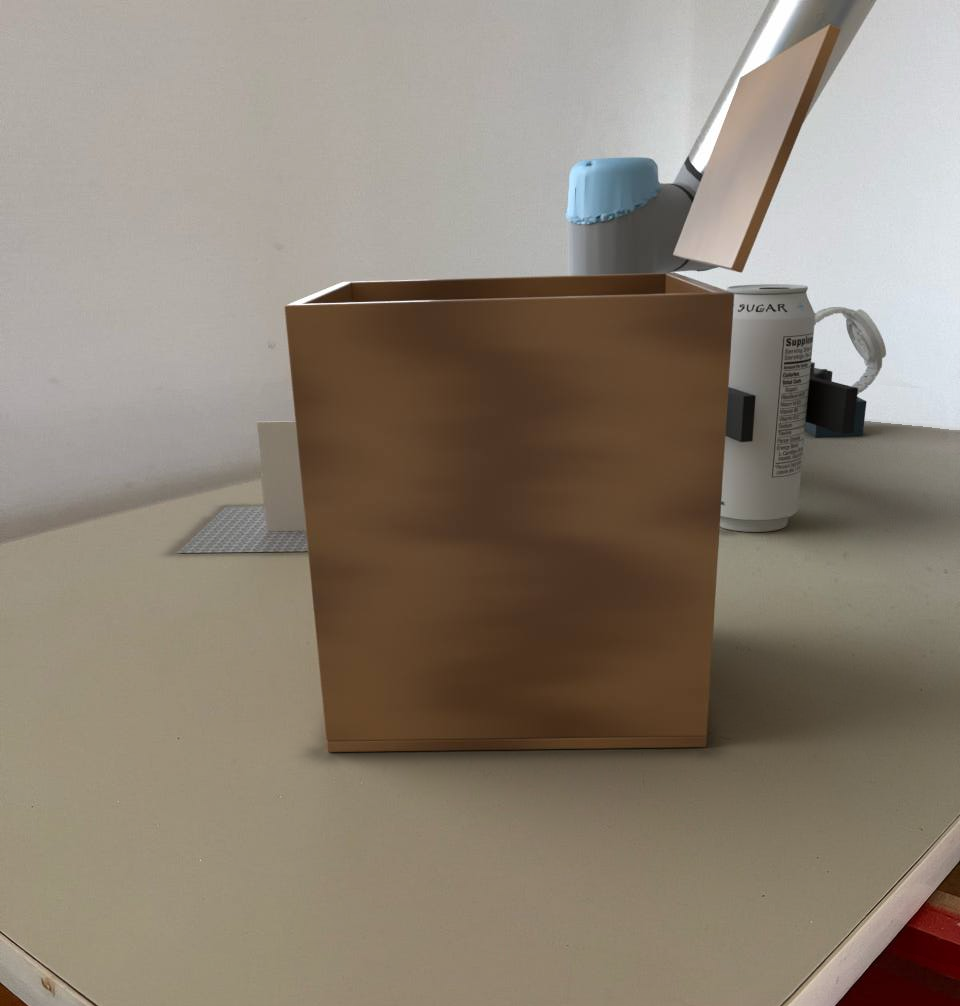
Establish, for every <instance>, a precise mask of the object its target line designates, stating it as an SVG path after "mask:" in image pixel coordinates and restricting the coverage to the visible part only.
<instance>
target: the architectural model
mask: <svg viewBox="0 0 960 1006" xmlns="http://www.w3.org/2000/svg"><path fill="white" fill-rule="evenodd" d="M256 425H257V435H258V436H257V437H258V443H259V451H260V453H259V454H260V462H261V471H260V483H261V490H262V500H263V506H262V505H261V506H260V505H259V506H256V505H255V506H226V507H225V508H224V509H222V510H221V511H220V512H219V513H218V514H217V515H216V516H215V517H214V518H213V519H212V520H211V521H210V522H209V523H208V524H206V525H205V526H204V527H203V528H202V529H201V530H200V531H199V532H198V533H197V534H196V535H195V536H194V537H192V538H191V540H189V541H188V542H187V543H186V544H185V545H184V546H183V547H182V548H181V549H180V550H179V551H178V552H177V554H194V553H195V554H197V553H200V554H202V553H205V554H207V553H274V552H277V553H278V552H279V553H280V552H308V545H307V535H306V525H305V514H304V504H303V494H302V483H301V473H300V463H299V452H298V442H297V432H296V421H295V420H278V421H277V420H275V421H274V420H273V421H272V420H271V421H270V420H269V421H257V422H256Z"/></svg>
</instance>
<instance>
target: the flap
mask: <svg viewBox="0 0 960 1006" xmlns="http://www.w3.org/2000/svg"><path fill="white" fill-rule="evenodd" d="M840 31H841V28H839V27H836V26H834V25H831V24H830V25H828V26H826V27H824V28H823V29H821V30H819V31H818V32H816V33H814V34H813V35H811V36H809V37H808V38H806V39H804V40H802V41H801V42H799V43H797V44H796V45H794V46H792V47H791V48H789V49H787V50H786V51H784V52H782V53H780V54H779V55H777V56H775V57H774V58H772V59H770V60H769V61H767V62H765V63H764V64H762V65H760V66H758V67H757V68H755V69H753V70H752V71H750V72H748V73H747V74H745V75H743V76H741V77H740V79H739V82H738V85H737V87H736V90H735V92H734V95H733V98H732V100H731V103H730V106H729V108H728V111H727V114H726V116H725V119H724V121H723V124H722V127H721V129H720V132H719V135H718V137H717V140H716V143H715V145H714V148H713V150H712V153H711V156H710V158H709V161H708V164H707V166H706V169H705V171H704V174H703V177H702V179H701V182H700V185H699V187H698V190H697V193H696V195H695V198H694V200H693V203H692V206H691V208H690V211H689V214H688V216H687V219H686V222H685V224H684V227H683V229H682V232H681V235H680V237H679V240H678V243H677V245H676V248H675V251H674V253H673V255H674V256H677V257H680V258H684V259H688V260H692V261H696V262H700V263H704V264H708V265H712V266H716V267H718V268H720V269H725V270H729V271H732V272H736V273H743V271H744V270H745V267H746V264H747V262H748V259H749V257H750V255H751V252H752V250H753V247H754V244H755V242H756V240H757V238H758V236H759V235H758V234H759V232H760V230H761V228H762V225H763V222H764V220H765V218H766V216H767V213H768V210H769V208H770V205H771V203H772V200H773V198H774V195H775V193H776V190H777V188H778V186H779V183H780V182H781V178H782V175H783V173H784V171H785V169H786V167H787V164H788V161H789V159H790V156H791V154H792V152H793V149H794V146H795V144H796V141H797V139H798V136H799V134H800V132H801V129H802V127H803V125H804V123H803V122H805V121H804V119H805V117H806V115H807V112H808V110H809V107H810V105H811V102H812V100H813V97H814V95H815V92H816V90H817V87H818V85H819V83H820V80H821V78H822V75H823V73H824V70H825V68H826V65H827V63H828V60H829V58H830V56H831V53H832V51H833V48H834V46H835V43H836V41H837V38H838V36H839V33H840ZM805 120H806V119H805Z"/></svg>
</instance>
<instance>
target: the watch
mask: <svg viewBox="0 0 960 1006" xmlns="http://www.w3.org/2000/svg"><path fill="white" fill-rule="evenodd" d="M814 313H815V325H814V327H815V326H816V325H817V324H818V323H820V322H821V321H822V320H824V319H825V318H828V317H830V316H833V315H835V314H841V315H842V316H843V317H844V318H845V325H846V331H847V335H848V336H849V337H848V338H849V339H850V341H851V343H852V345H853V346H854V349H855V350H856V352H857V353H858V354H859V355H860V356H861V358H862V359H863V362H864V365H865V366H866V369H865V372H864V373H862V374H861V376H860V378H859V379H858V380H857V381H856V382H854V383H853V384H852V385H851V386H852V387H856V388H858V394H857V395H859V394H860V393H862V392H864V391H865V390H867V388H869V386H871V384H873V382H874V381H875V380H876V377H877V376H878V375H879V373H880V371H881V369H882V367H883V359H884V358H885V357H886V356H887V349H886V348H887V347H886V344H885V342H884V339H883V337H882V334H881V332H880V330H879V329H878V327H877V325H876V323H875V322H874V320H873V319H872V317H871V316H870V315H869V314H868V313H867V312H866V311H864V310H863V309H861V308H858V309H857V310H855V309H851V308H847V307H842V306H831V307H827V308H822V309H820V310H818V311H817V312H814ZM866 411H867V400H865V399H863V398H861V397H859V396H857V403H856V413H855V422H854V431H853V433H848V434H841V433H838V432H835V431H832V430H829V429H826V428H823V427H820V426H817V425H814V424H811V423H808V422H806V423H805V432H807V433H808V434H810V435H811V436H813V437H814V438H831V437H834V438H835V437H836V438H837V437H863V435H864V427H865V418H866Z"/></svg>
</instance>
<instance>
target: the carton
mask: <svg viewBox="0 0 960 1006" xmlns="http://www.w3.org/2000/svg"><path fill="white" fill-rule="evenodd" d="M283 308H284V317H285V326H286V327H285V328H286V339H287V347H288V349H287V350H288V359H289V369H290V380H291V390H292V399H293V410H294V421H296V432H297V442H298V452H299V463H300V473H301V483H302V494H303V504H304V514H305V525H306V535H307V545H308V551H307V553H308V554H307V555H308V567H309V575H310V576H309V577H310V586H311V596H312V607H313V617H314V626H315V627H314V628H315V637H316V639H315V640H316V648H317V656H318V668H319V679H320V689H321V700H322V709H323V721H324V730H325V740H326V750H327V752H328V753H350V752H351V753H357V752H359V753H362V752H363V753H364V752H431V751H433V752H437V751H441V752H442V751H505V750H507V751H508V750H509V751H510V750H511V751H513V750H515V751H516V750H520V751H521V750H579V749H581V750H582V749H583V750H587V749H591V750H593V749H660V748H661V749H662V748H663V749H664V748H706V746H707V737H708V736H707V733H708V723H709V722H708V720H709V707H710V704H709V703H710V689H711V688H710V687H711V686H710V685H711V674H712V673H711V671H712V657H713V656H712V655H713V643H714V642H713V640H714V627H715V625H714V623H715V609H716V595H717V593H716V592H717V576H718V561H719V548H720V547H719V546H720V545H719V544H720V529H721V527H720V515H721V499H722V483H723V467H724V451H725V435H726V419H727V403H728V387H729V371H730V355H731V339H732V324H733V308H734V293H732V292H729V291H727V289H724V288H720V287H717V286H715V285H712V284H709V283H707V282H704V281H700V280H697V279H694V278H692V277H689V276H687V275H683V274H680V273H677V272H670V273H638V274H604V275H569V276H568V275H540V276H539V275H538V276H535V275H534V276H506V277H505V276H504V277H503V276H501V277H471V278H470V277H469V278H436V279H403V280H402V279H400V280H365V281H342V282H340V283H337V284H335V285H332V286H330V287H327V288H324V289H323V290H320V291H318V292H317V291H316V292H315V293H313V294H310V295H308V296H306V297H303V298H300V299H298V300H295V301H292V302H291V303H288V304H286V305H284V307H283Z"/></svg>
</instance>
